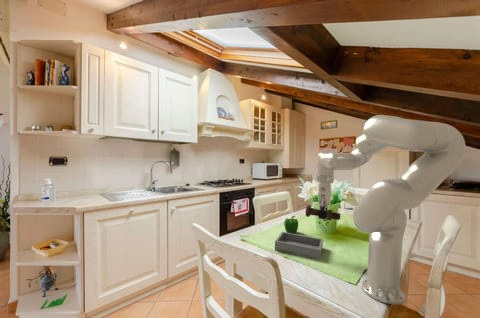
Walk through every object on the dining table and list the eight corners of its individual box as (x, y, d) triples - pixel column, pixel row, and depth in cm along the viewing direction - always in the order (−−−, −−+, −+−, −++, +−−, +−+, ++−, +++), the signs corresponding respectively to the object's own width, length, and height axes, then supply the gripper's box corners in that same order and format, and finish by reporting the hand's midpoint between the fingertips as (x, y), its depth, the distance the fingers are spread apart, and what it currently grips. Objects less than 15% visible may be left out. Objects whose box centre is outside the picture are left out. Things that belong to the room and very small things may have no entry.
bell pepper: (288, 236, 126) (289, 218, 125) (281, 230, 134) (282, 214, 133) (301, 234, 128) (302, 217, 128) (294, 229, 136) (294, 213, 136)
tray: (320, 260, 98) (320, 250, 98) (274, 250, 107) (275, 241, 107) (322, 247, 111) (323, 239, 111) (281, 239, 120) (282, 231, 120)
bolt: (339, 225, 100) (305, 218, 107) (340, 217, 103) (308, 211, 110) (339, 216, 97) (305, 209, 104) (341, 208, 100) (307, 202, 108)
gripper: (332, 182, 93) (330, 224, 94) (334, 177, 109) (332, 213, 110) (313, 180, 97) (311, 220, 98) (318, 176, 112) (316, 211, 113)
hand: (322, 216), depth 104 cm, fingers closed on bolt, 5 cm apart
